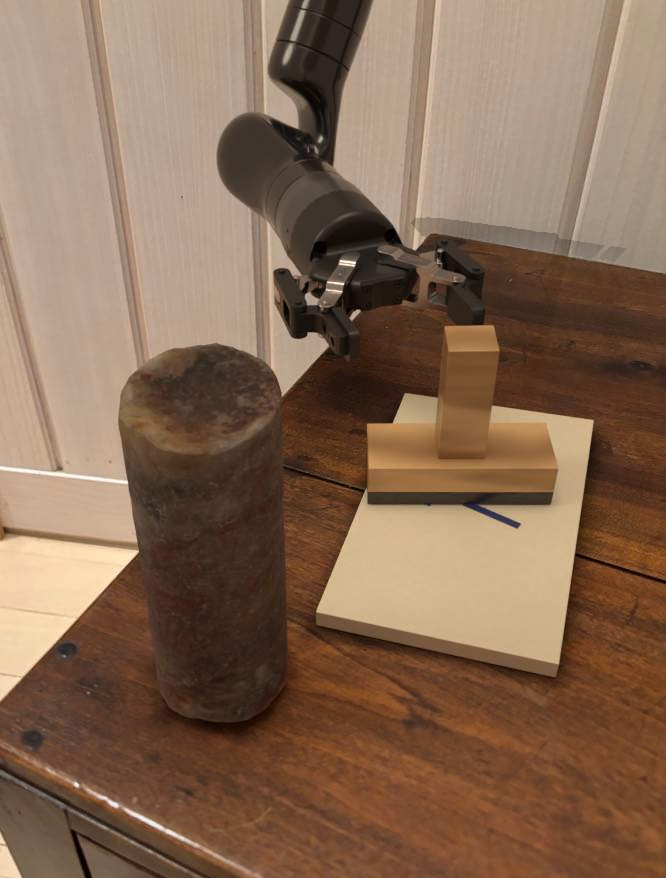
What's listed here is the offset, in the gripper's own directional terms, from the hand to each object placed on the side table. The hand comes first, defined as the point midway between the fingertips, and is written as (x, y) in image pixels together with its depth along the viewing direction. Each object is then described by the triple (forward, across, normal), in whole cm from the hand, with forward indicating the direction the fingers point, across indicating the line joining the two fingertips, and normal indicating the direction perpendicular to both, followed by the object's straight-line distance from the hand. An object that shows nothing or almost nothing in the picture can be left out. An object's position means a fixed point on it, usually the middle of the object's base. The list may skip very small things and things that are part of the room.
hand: (417, 336), depth 60 cm
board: (+8, +1, +10) cm, 13 cm away
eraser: (+5, +1, +9) cm, 10 cm away
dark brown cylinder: (+16, -18, +10) cm, 26 cm away
